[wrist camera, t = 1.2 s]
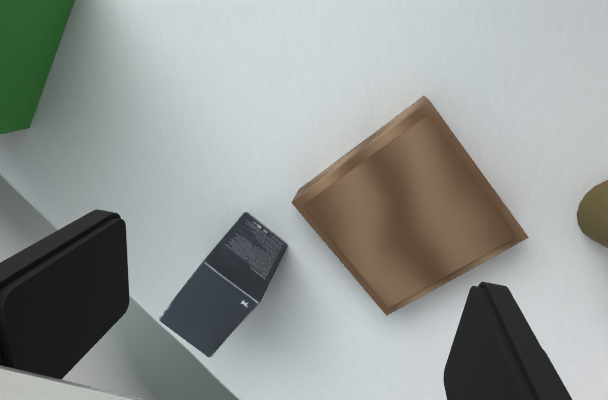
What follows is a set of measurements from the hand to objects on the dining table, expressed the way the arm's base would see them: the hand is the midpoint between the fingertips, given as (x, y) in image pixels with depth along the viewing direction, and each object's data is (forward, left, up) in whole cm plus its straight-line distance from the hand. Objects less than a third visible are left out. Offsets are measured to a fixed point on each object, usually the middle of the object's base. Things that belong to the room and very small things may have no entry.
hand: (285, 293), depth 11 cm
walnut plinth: (+1, +9, -27) cm, 28 cm away
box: (+17, +4, -27) cm, 32 cm away
